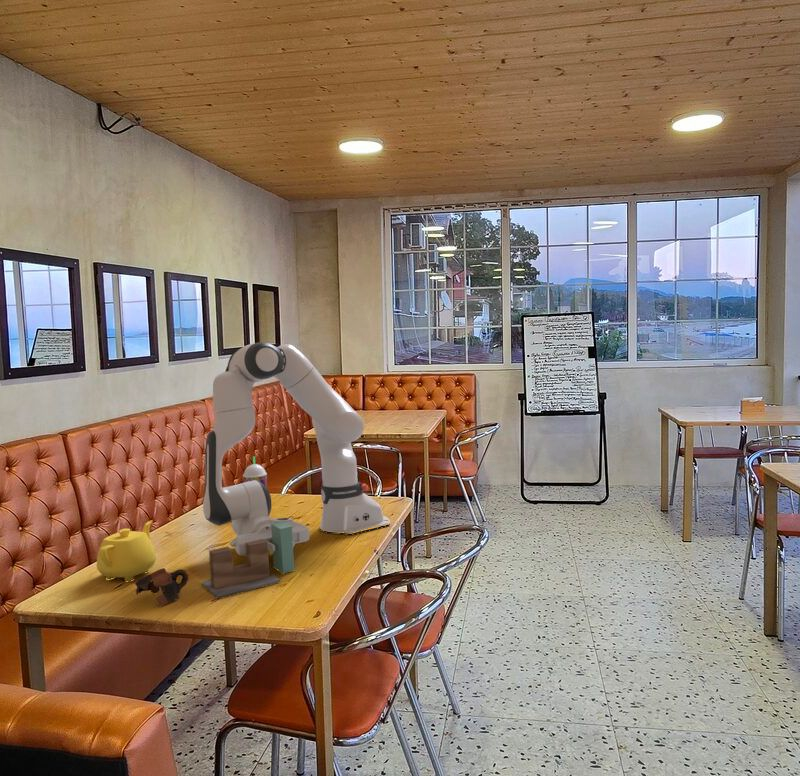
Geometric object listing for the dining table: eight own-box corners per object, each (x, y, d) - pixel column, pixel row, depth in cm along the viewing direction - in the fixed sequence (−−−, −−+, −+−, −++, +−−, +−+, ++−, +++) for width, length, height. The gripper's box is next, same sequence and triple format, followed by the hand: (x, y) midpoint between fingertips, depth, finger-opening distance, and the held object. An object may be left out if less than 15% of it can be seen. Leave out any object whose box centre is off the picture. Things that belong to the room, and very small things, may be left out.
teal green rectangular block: (274, 567, 173) (271, 523, 172) (285, 564, 175) (282, 521, 174) (283, 574, 168) (280, 529, 167) (294, 571, 170) (291, 526, 169)
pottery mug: (148, 614, 148) (133, 581, 149) (144, 618, 156) (129, 587, 157) (197, 587, 155) (182, 556, 156) (191, 593, 162) (177, 563, 164)
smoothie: (246, 510, 234) (243, 455, 233) (270, 508, 235) (267, 453, 233) (243, 516, 226) (240, 459, 224) (268, 514, 227) (264, 458, 225)
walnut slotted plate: (201, 584, 164) (199, 547, 163) (261, 569, 172) (259, 533, 172) (217, 599, 154) (215, 559, 153) (280, 582, 163) (278, 544, 162)
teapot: (174, 562, 181) (171, 519, 180) (124, 590, 162) (120, 541, 161) (134, 559, 185) (131, 517, 184) (80, 586, 165) (76, 539, 164)
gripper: (226, 530, 176) (245, 543, 164) (295, 516, 187) (317, 526, 176) (227, 553, 176) (246, 567, 165) (296, 537, 188) (318, 549, 176)
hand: (283, 546), depth 170 cm, fingers closed on teal green rectangular block, 3 cm apart
